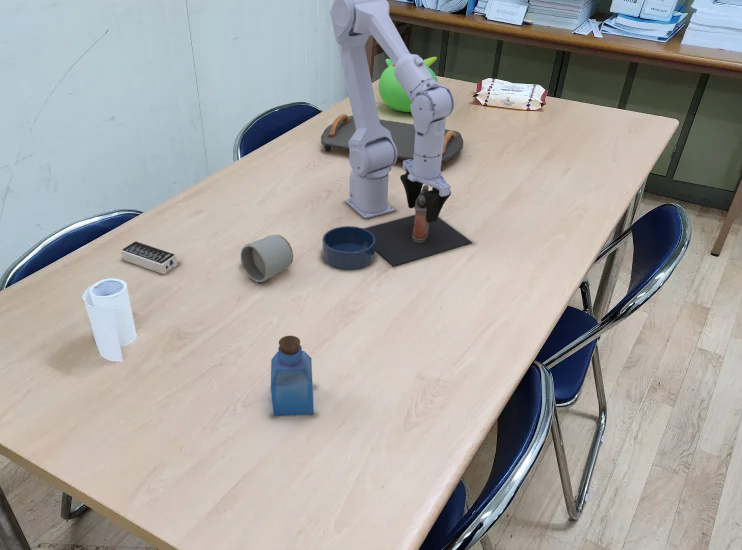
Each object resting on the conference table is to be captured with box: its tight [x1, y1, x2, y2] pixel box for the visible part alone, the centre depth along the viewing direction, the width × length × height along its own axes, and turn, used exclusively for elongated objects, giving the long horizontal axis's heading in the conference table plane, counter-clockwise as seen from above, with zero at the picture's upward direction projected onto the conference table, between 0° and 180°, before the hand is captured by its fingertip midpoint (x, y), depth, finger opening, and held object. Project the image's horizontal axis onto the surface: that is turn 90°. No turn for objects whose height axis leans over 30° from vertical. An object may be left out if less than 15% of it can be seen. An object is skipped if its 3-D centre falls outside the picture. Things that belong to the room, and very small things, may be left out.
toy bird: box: [378, 56, 438, 113], centre depth 194 cm, size 18×17×15 cm
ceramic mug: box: [240, 234, 294, 283], centre depth 127 cm, size 11×8×8 cm
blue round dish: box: [321, 225, 376, 271], centre depth 133 cm, size 11×11×4 cm
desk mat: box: [364, 214, 473, 268], centre depth 140 cm, size 16×20×1 cm
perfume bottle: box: [270, 335, 315, 417], centre depth 97 cm, size 6×6×12 cm
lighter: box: [412, 184, 430, 243], centre depth 137 cm, size 8×3×10 cm, turn 168°
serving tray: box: [320, 113, 464, 167], centre depth 175 cm, size 39×23×6 cm, turn 69°
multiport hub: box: [120, 240, 178, 275], centre depth 130 cm, size 4×11×2 cm, turn 62°
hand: (422, 213), depth 137 cm, fingers closed on lighter, 6 cm apart
